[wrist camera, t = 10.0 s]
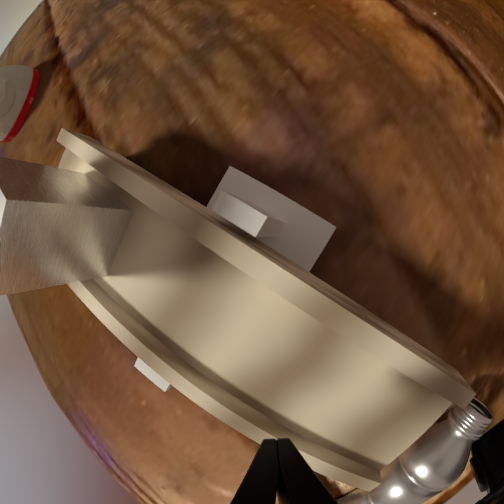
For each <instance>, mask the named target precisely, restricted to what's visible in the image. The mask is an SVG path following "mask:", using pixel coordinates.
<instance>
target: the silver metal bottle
mask: <svg viewBox="0 0 504 504" xmlns="http://www.w3.org/2000/svg"><path fill="white" fill-rule="evenodd" d="M493 419H494V416H493V414H492V412H491V411H490V410H489V409H488V408H487V407H486V406H485V405H484V404H483V403H482V402H481V401H479V400H478V399H476V398H475V397H474V398H473V399H472V400H471V402H470V403H469V404H468V405H467V406H466V407H465V409H462V408H461V407H459V406H457V405H455V406H454V407H452V408H451V409H450V411H449V412H448V418H447V419H446V420H444V421H441V422H438V423H434V424H433V425H432V426H431V427H430V428H429V429H428V430H427V431H426V432H425V433H424V434H423V435H421V436H420V437H419V438H418V439H417V440H416V441H415V442H414V443H413V444H412V445H411V446H410V447H408V448H407V449H406V450H405V451H404V452H403V453H402V454H400V455H399V456H398V457H397V458H396V459H394V460H393V461H392V462H391V463H389V464H388V465H387V466H386V467H384V468H383V469H382V470H380V474H381V484H380V485H379V486H377V487H376V488H374V489H373V490H371V491H370V492H369V491H365V490H362V489H359V488H358V489H356V490H354V491H353V492H351V493H349V494H348V495H346V496H344V497H342V498H339V499H336V501H337V502H338V503H339V504H422V503H423V502H425V501H427V500H429V499H430V498H432V497H434V496H435V495H437V494H438V493H440V492H442V491H443V490H444V489H446V488H448V487H449V486H450V485H452V484H453V483H454V482H455V481H457V479H458V478H459V477H460V475H461V474H462V472H463V471H464V469H465V467H466V464H467V461H468V458H469V455H470V450H471V446H472V443H473V441H474V440H478V439H480V437H481V436H482V435H483V433H484V431H485V430H486V429H487V427H488V426H489V425H490V424H491V422H492V420H493Z"/></svg>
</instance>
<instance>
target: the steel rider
mask: <svg viewBox="0 0 504 504" xmlns="http://www.w3.org/2000/svg"><path fill="white" fill-rule="evenodd" d="M133 213H134V210H132V209H131V208H130V207H128V206H127V205H126V204H124V203H123V202H122V201H120V200H119V199H118V198H116V197H115V196H114V195H113V194H111V193H110V192H109V191H107V190H106V189H105V188H103V187H102V186H101V185H100V184H98V183H97V182H96V181H94V180H93V179H92V178H91V177H89V176H88V175H87V174H85V173H82V172H77V171H72V170H67V169H62V168H57V167H52V166H47V165H42V164H36V163H31V162H26V161H20V160H14V159H8V158H2V157H0V296H1V295H6V294H12V293H17V292H23V291H28V290H34V289H39V288H45V287H50V286H56V285H61V284H67V283H72V282H78V281H84V280H89V279H95V278H100V277H106V276H108V274H109V272H110V269H111V266H112V264H113V261H114V258H115V256H116V253H117V251H118V248H119V246H120V243H121V241H122V238H123V236H124V234H125V231H126V229H127V227H128V224H129V222H130V220H131V217H132V215H133Z"/></svg>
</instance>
